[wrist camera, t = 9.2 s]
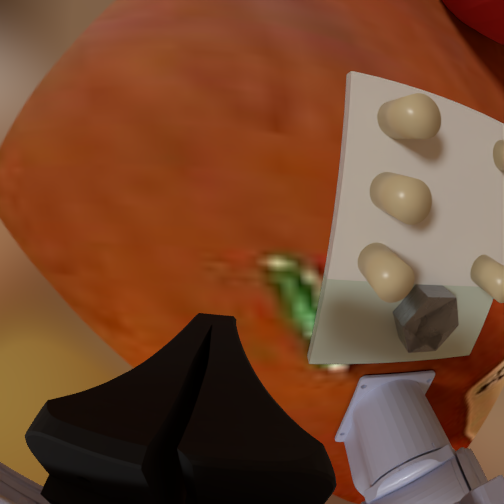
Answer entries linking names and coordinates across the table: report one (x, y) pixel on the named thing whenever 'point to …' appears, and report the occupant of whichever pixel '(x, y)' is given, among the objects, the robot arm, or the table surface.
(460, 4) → the ceramic cup
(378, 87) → the board
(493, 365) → the table surface
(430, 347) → the grey faceted polyhedron
